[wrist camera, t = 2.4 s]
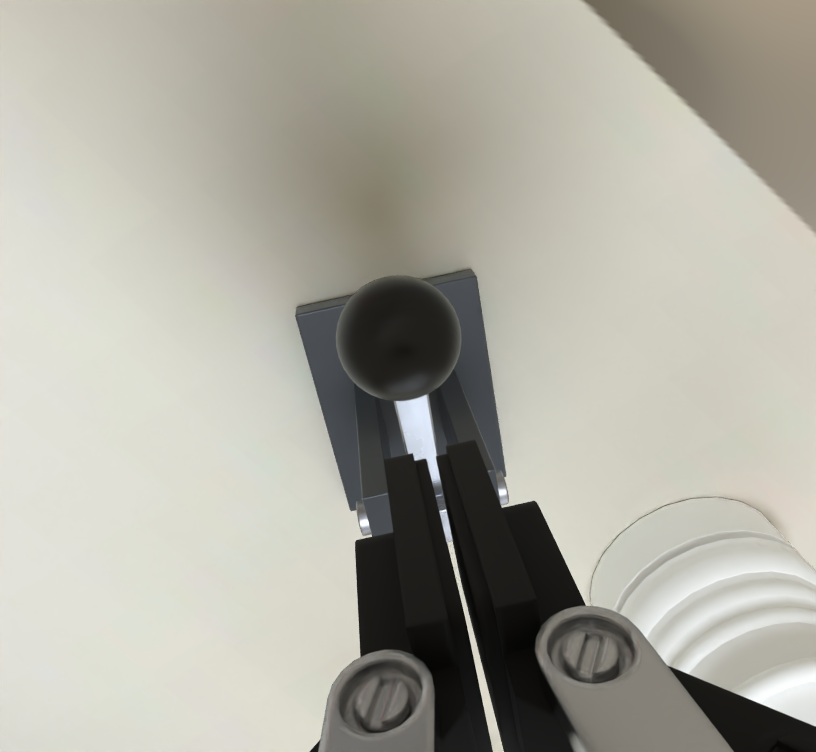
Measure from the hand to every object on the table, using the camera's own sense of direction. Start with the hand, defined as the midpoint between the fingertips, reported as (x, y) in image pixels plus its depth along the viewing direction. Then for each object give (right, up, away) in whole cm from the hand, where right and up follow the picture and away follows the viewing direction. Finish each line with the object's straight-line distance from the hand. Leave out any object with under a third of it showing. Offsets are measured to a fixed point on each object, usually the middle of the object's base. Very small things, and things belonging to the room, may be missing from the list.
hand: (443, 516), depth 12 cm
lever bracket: (-1, +2, +24) cm, 24 cm away
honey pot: (+18, -11, +32) cm, 38 cm away
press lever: (-1, +2, +12) cm, 12 cm away
